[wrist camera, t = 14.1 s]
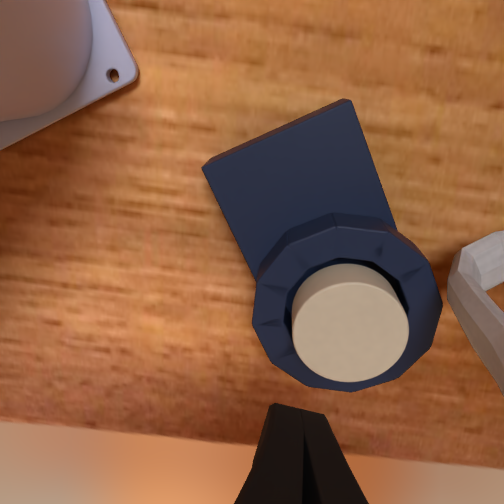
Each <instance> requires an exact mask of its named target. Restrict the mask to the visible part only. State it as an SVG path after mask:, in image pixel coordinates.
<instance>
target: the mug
mask: <svg viewBox="0 0 504 504" xmlns="http://www.w3.org/2000/svg"><path fill="white" fill-rule="evenodd" d="M503 282H504V231H498V232H494V233H492V234H490V235H488V236H486V237H484V238H482V239H480V240H478V241H476V242H474V243H472V244H469V245H467V246H465V247H463V248H462V249H461V250H460V251H458V252H457V253H456V254H455V255H454V259H453V262H452V266H451V269H450V273H449V276H448V281H447V300H448V302H449V304H450V306H451V308H452V310H453V311H454V313H455V315H456V317H457V319H458V321H459V323H460V325H461V327H462V329H463V331H464V332H465V334H466V336H467V338H468V340H469V341H470V343H471V345H472V347H473V349H474V350H475V352H476V353H477V354H478V356H479V357H480V359H481V360H482V362H483V363H484V365H485V366H486V368H487V369H488V371H489V372H490V374H491V375H492V377H493V378H494V380H495V381H496V383H497V384H498V386H499V388H500V390H501V392H502V394H503V396H504V312H503V311H502V310H501V309H500V308H499V307H498V306H497V305H496V304H495V303H494V301H493V300H492V299H491V298H490V297H489V296H488V295H487V293H486V291H488V290H489V289H491V288H493V287H495V286H497V285H499V284H501V283H503Z"/></svg>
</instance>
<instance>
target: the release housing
mask: <svg viewBox="0 0 504 504" xmlns="http://www.w3.org/2000/svg"><path fill="white" fill-rule="evenodd" d="M202 171H203V173H204V175H205V177H206V179H207V181H208V183H209V185H210V187H211V189H212V191H213V193H214V195H215V198H216V200H217V202H218V204H219V206H220V208H221V210H222V212H223V214H224V216H225V218H226V220H227V222H228V225H229V227H230V229H231V231H232V233H233V235H234V237H235V239H236V241H237V243H238V245H239V247H240V249H241V252H242V254H243V256H244V258H245V260H246V262H247V264H248V266H249V268H250V270H251V272H252V274H253V276H254V279H255V281H256V292H255V301H254V309H253V318H252V325H253V328H254V330H255V332H256V334H257V336H258V338H259V340H260V342H261V344H262V346H263V348H264V350H265V352H266V354H267V356H268V358H269V360H270V361H271V362H272V364H274V365H275V366H277V367H278V368H280V369H281V370H283V371H284V372H286V373H287V374H289V375H290V376H292V377H294V378H295V379H297V380H298V381H300V382H301V383H303V384H304V385H306V386H308V387H314V388H322V389H329V390H337V391H344V392H356V391H359V390H362V389H365V388H369V387H372V386H375V385H378V384H382V383H385V382H388V381H391V380H395V379H396V378H399V377H400V376H401V375H402V374H403V373H404V372H405V371H406V370H407V369H408V368H410V367H411V366H412V365H413V364H414V363H415V362H416V361H417V360H418V359H419V358H420V357H421V356H422V355H423V354H424V353H426V352H427V351H428V350H429V349H430V347H431V345H432V342H433V338H434V335H435V332H436V328H437V325H438V321H439V318H440V314H441V311H442V307H443V305H442V304H443V302H442V299H441V296H440V293H439V290H438V287H437V284H436V281H435V278H434V275H433V272H432V269H431V266H430V264H429V262H428V260H427V259H426V258H425V256H424V255H423V254H422V253H421V251H420V250H419V249H418V248H417V246H416V245H415V244H414V243H412V242H411V241H410V240H409V239H407V238H406V237H405V236H403V235H402V234H401V233H399V232H398V230H397V228H396V225H395V222H394V219H393V216H392V214H391V211H390V208H389V205H388V202H387V199H386V197H385V194H384V191H383V188H382V185H381V183H380V180H379V177H378V174H377V171H376V168H375V166H374V163H373V160H372V157H371V154H370V152H369V149H368V146H367V143H366V140H365V137H364V135H363V132H362V129H361V126H360V123H359V121H358V118H357V115H356V112H355V109H354V106H353V104H352V101H351V100H348V99H340V100H338V101H336V102H334V103H332V104H329V105H327V106H325V107H323V108H321V109H318V110H316V111H314V112H312V113H310V114H307V115H305V116H303V117H301V118H299V119H296V120H294V121H292V122H290V123H288V124H285V125H283V126H281V127H279V128H276V129H274V130H272V131H270V132H268V133H265V134H263V135H261V136H259V137H257V138H254V139H252V140H250V141H248V142H246V143H243V144H241V145H239V146H237V147H235V148H232V149H230V150H228V151H226V152H224V153H221V154H219V155H217V156H215V157H213V158H211V159H210V160H209V161H208V162H207V163H206V164H205V165H203V166H202ZM337 264H357V265H362V266H365V267H368V268H370V269H372V270H374V271H376V272H378V273H379V274H381V275H382V276H383V277H384V278H385V279H386V280H387V281H388V282H389V283H390V285H391V286H392V288H393V290H394V291H395V293H396V295H397V297H398V299H399V301H400V303H401V305H402V307H403V309H404V311H405V313H406V316H407V319H408V324H409V336H408V341H407V344H406V347H405V349H404V351H403V353H402V355H401V356H400V358H399V359H398V360H397V362H396V363H395V364H394V365H393V366H392V367H390V368H389V369H388V370H386V371H385V372H383V373H382V374H380V375H378V376H376V377H373V378H371V379H368V380H364V381H358V382H340V381H334V380H331V379H327V378H325V377H322V376H320V375H318V374H317V373H315V372H314V371H312V370H311V369H310V368H308V367H307V366H306V365H305V364H304V363H303V361H302V360H301V359H300V357H299V356H298V354H297V352H296V350H295V347H294V343H293V338H292V304H293V300H294V297H295V295H296V293H297V291H298V289H299V287H300V286H301V285H302V283H303V282H304V281H305V280H306V279H307V278H308V277H310V276H311V275H312V274H314V273H315V272H317V271H319V270H321V269H323V268H325V267H329V266H332V265H337Z"/></svg>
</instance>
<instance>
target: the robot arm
mask: <svg viewBox="0 0 504 504" xmlns="http://www.w3.org/2000/svg"><path fill="white" fill-rule="evenodd" d="M113 69H115V70H117V72H118V73H119V80H118V81H117V82H113V81H112V80H111V79H110V72H111V71H112V70H113ZM138 71H139V70H138V66H137V64H136V62H135V59H134V57H133V55H132V53H131V51H130V49H129V47H128V45H127V43H126V41H125V39H124V37H123V35H122V33H121V31H120V29H119V27H118V25H117V23H116V21H115V19H114V17H113V15H112V13H111V11H110V9H109V7H108V5H107V2H106V0H0V150H2V149H4V148H6V147H8V146H10V145H12V144H14V143H16V142H18V141H20V140H22V139H24V138H26V137H28V136H30V135H32V134H33V133H35V132H37V131H39V130H41V129H43V128H45V127H47V126H49V125H51V124H53V123H55V122H57V121H59V120H61V119H63V118H65V117H66V116H68V115H70V114H72V113H74V112H76V111H78V110H80V109H82V108H84V107H86V106H88V105H90V104H92V103H94V102H96V101H98V100H99V99H101V98H103V97H105V96H107V95H109V94H111V93H113V92H115V91H117V90H119V89H121V88H123V87H125V86H127V85H129V84H131V83H132V82H134V81H135V80H136V79H137V77H138ZM234 504H369V503H368V502H367V500H366V498H365V496H364V494H363V492H362V490H361V488H360V487H359V485H358V483H357V481H356V479H355V477H354V475H353V473H352V471H351V469H350V467H349V465H348V463H347V461H346V459H345V457H344V455H343V453H342V451H341V449H340V447H339V444H338V442H337V440H336V438H335V436H334V434H333V431H332V429H331V427H330V425H329V423H328V420H327V418H326V417H325V415H324V414H320V413H316V412H312V411H307V410H303V409H299V408H295V407H290V406H286V405H282V404H278V403H274V404H272V405H270V406H269V409H268V412H267V416H266V419H265V422H264V426H263V429H262V433H261V436H260V439H259V443H258V446H257V449H256V453H255V456H254V460H253V465H252V469H251V471H250V473H249V475H248V477H247V479H246V481H245V483H244V485H243V487H242V489H241V491H240V493H239V495H238V497H237V499H236V501H235V503H234Z"/></svg>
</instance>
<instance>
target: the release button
mask: <svg viewBox="0 0 504 504" xmlns="http://www.w3.org/2000/svg"><path fill="white" fill-rule="evenodd" d="M408 336H409V324H408V319H407V316H406V313H405V311H404V309H403V307H402V305H401V303H400V301H399V299H398V297H397V295H396V293H395V291H394V290H393V288H392V286H391V285H390V283H389V282H388V281H387V280H386V279H385V278H384V277H383V276H382V275H381V274H379V273H378V272H376V271H374V270H372V269H370V268H368V267H365V266H362V265H357V264H337V265H332V266H329V267H325V268H323V269H321V270H319V271H317V272H315V273H314V274H312V275H311V276H310V277H308V278H307V279H306V280H305V281H304V282H303V283H302V285H301V286H300V287H299V289H298V291H297V293H296V295H295V297H294V300H293V304H292V338H293V343H294V347H295V350H296V352H297V354H298V356H299V357H300V359H301V360H302V361H303V363H304V364H305V365H306V366H307V367H308V368H310V369H311V370H312V371H314V372H315V373H317V374H318V375H320V376H322V377H325V378H327V379H331V380H334V381H340V382H358V381H364V380H368V379H371V378H373V377H376V376H378V375H380V374H382V373H383V372H385V371H386V370H388V369H389V368H390V367H392V366H393V365H394V364H395V363H396V362H397V360H398V359H399V358H400V356H401V355H402V353H403V351H404V349H405V347H406V344H407V341H408Z"/></svg>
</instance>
